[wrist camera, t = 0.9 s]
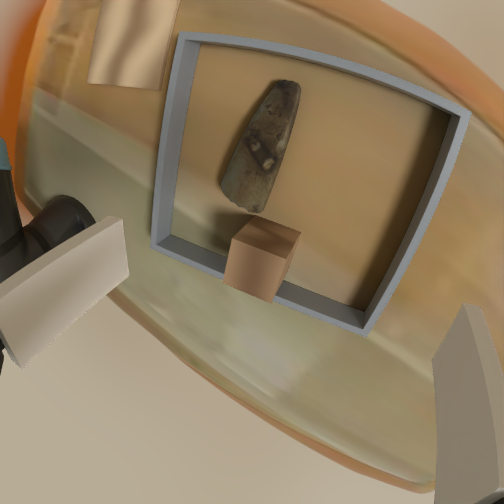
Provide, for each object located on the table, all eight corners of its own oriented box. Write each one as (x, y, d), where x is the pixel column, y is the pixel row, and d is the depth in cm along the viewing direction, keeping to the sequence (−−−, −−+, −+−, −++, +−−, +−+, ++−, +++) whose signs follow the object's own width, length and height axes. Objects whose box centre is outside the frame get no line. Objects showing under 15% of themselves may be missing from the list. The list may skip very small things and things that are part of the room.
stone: (266, 212, 31) (257, 219, 29) (223, 191, 32) (213, 197, 30) (313, 89, 24) (308, 86, 22) (263, 71, 25) (254, 68, 23)
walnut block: (245, 254, 35) (222, 282, 30) (255, 214, 32) (232, 238, 27) (287, 271, 34) (271, 303, 29) (301, 232, 31) (285, 259, 26)
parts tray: (164, 237, 38) (150, 248, 35) (195, 35, 25) (179, 31, 23) (367, 319, 33) (366, 337, 30) (461, 111, 20) (471, 112, 18)
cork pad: (89, 82, 31) (87, 83, 31) (105, -2, 25) (103, -3, 25) (160, 90, 29) (158, 90, 29) (183, -10, 23) (180, -12, 22)
